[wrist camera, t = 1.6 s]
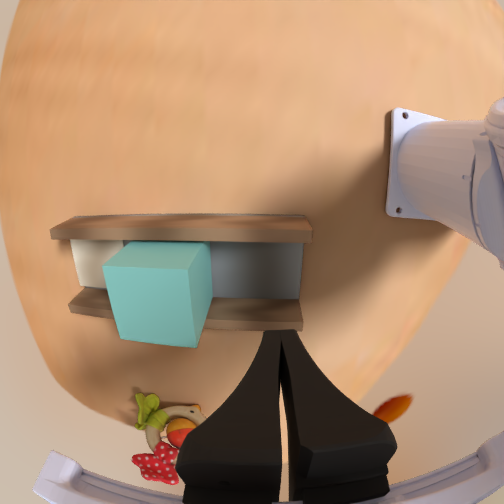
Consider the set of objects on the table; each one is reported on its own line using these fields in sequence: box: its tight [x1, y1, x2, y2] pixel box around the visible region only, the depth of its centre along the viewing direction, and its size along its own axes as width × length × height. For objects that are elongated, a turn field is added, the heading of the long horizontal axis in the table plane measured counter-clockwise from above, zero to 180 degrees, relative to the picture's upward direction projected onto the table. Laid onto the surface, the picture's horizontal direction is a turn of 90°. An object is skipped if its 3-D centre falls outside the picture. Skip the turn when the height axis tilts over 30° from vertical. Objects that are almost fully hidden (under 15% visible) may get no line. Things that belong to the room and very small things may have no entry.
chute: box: [50, 214, 313, 331], centre depth 19 cm, size 19×7×4 cm, turn 90°
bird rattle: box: [132, 393, 207, 485], centre depth 23 cm, size 6×11×9 cm
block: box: [102, 240, 213, 348], centre depth 17 cm, size 5×5×6 cm
